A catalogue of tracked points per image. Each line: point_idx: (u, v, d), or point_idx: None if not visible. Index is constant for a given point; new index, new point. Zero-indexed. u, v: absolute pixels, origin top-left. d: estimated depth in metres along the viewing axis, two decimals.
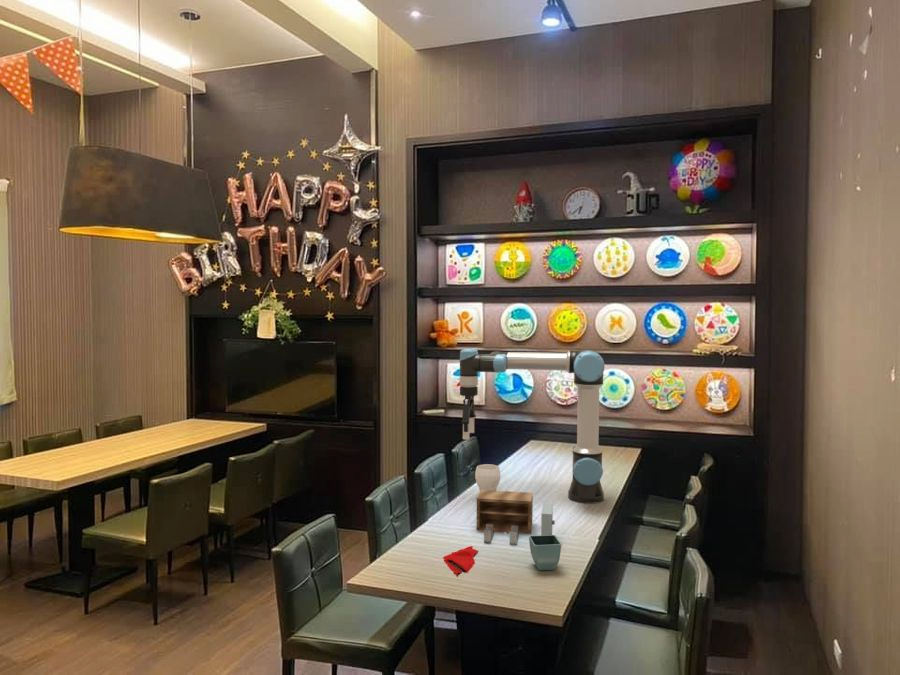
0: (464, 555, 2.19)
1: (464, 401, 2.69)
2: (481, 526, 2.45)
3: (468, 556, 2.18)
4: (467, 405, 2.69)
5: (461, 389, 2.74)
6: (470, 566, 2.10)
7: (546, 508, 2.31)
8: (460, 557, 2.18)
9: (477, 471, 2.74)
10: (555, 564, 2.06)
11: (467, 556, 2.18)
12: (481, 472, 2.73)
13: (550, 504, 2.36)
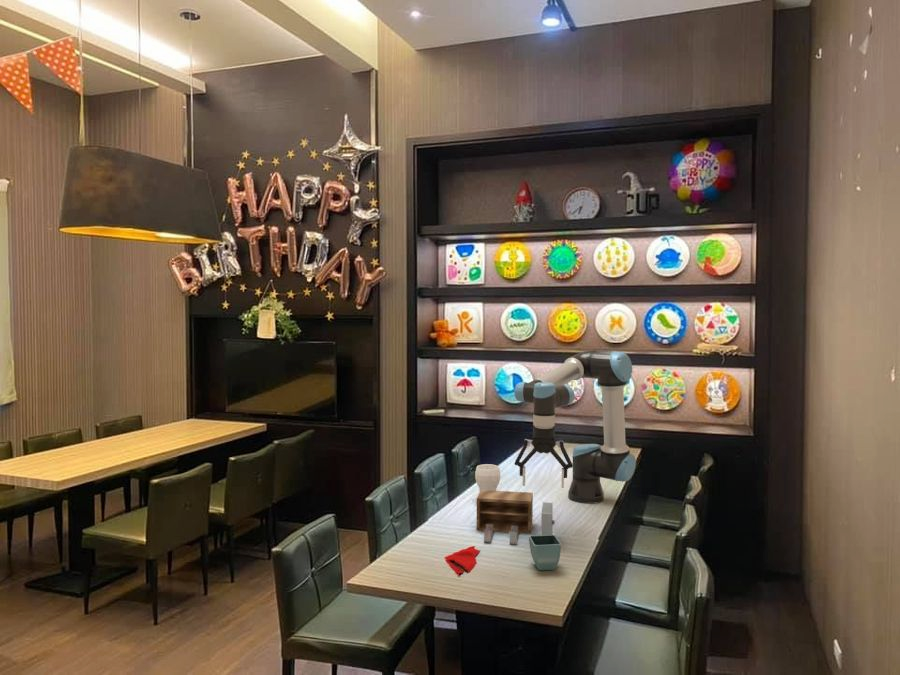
0: (466, 555, 2.19)
1: (524, 441, 2.34)
2: (481, 526, 2.45)
3: (470, 556, 2.18)
4: (523, 446, 2.33)
5: None
6: (472, 566, 2.09)
7: (546, 508, 2.31)
8: (462, 557, 2.17)
9: (477, 471, 2.74)
10: (555, 564, 2.06)
11: (469, 556, 2.18)
12: (481, 472, 2.73)
13: (550, 504, 2.36)
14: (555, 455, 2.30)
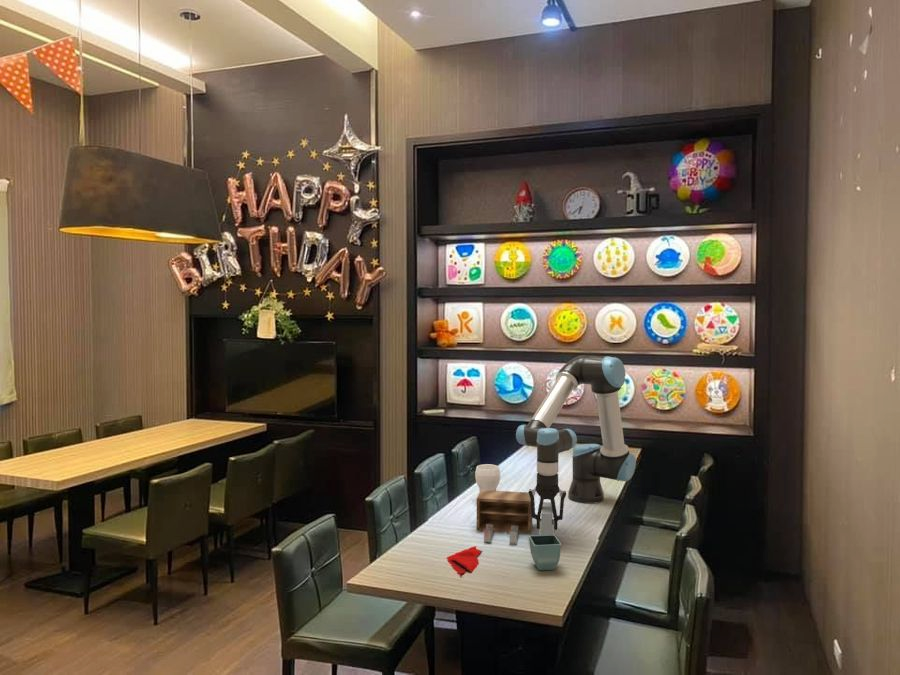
0: (468, 555, 2.19)
1: None
2: (481, 526, 2.45)
3: (472, 556, 2.18)
4: None
5: None
6: (474, 566, 2.09)
7: (546, 508, 2.31)
8: (464, 557, 2.17)
9: (477, 471, 2.74)
10: (555, 564, 2.06)
11: (471, 556, 2.18)
12: (481, 472, 2.73)
13: (550, 504, 2.36)
14: (553, 504, 2.30)
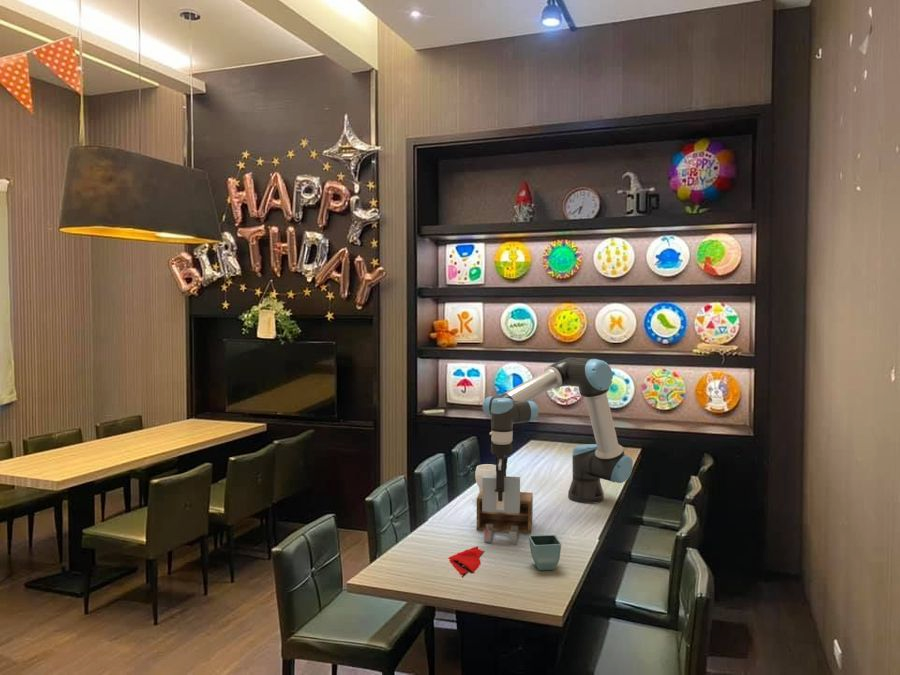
0: (470, 555, 2.18)
1: (497, 467, 2.26)
2: (481, 526, 2.45)
3: (474, 556, 2.18)
4: (501, 471, 2.26)
5: (493, 446, 2.29)
6: (476, 566, 2.09)
7: None
8: (466, 557, 2.17)
9: (477, 471, 2.74)
10: (555, 564, 2.06)
11: (473, 556, 2.18)
12: (481, 472, 2.73)
13: (489, 475, 2.34)
14: None
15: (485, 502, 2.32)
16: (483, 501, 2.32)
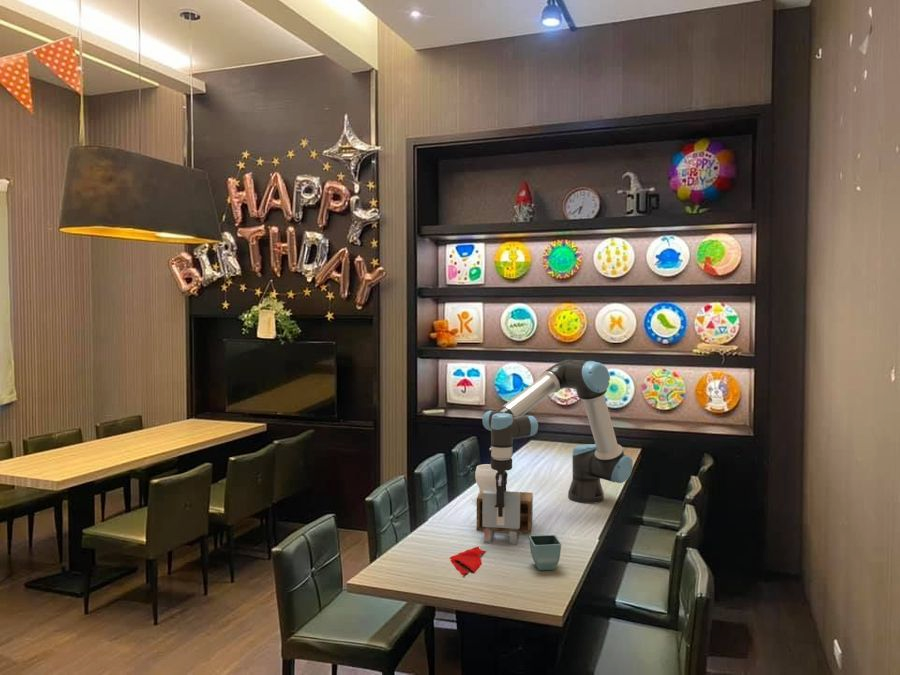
0: (471, 555, 2.18)
1: (497, 483, 2.26)
2: (481, 526, 2.45)
3: (475, 556, 2.18)
4: (501, 487, 2.26)
5: (493, 462, 2.30)
6: (477, 566, 2.09)
7: None
8: (467, 557, 2.17)
9: (477, 471, 2.74)
10: (555, 564, 2.06)
11: (474, 556, 2.18)
12: (481, 472, 2.73)
13: (489, 491, 2.34)
14: (505, 486, 2.34)
15: (485, 517, 2.32)
16: (483, 516, 2.32)
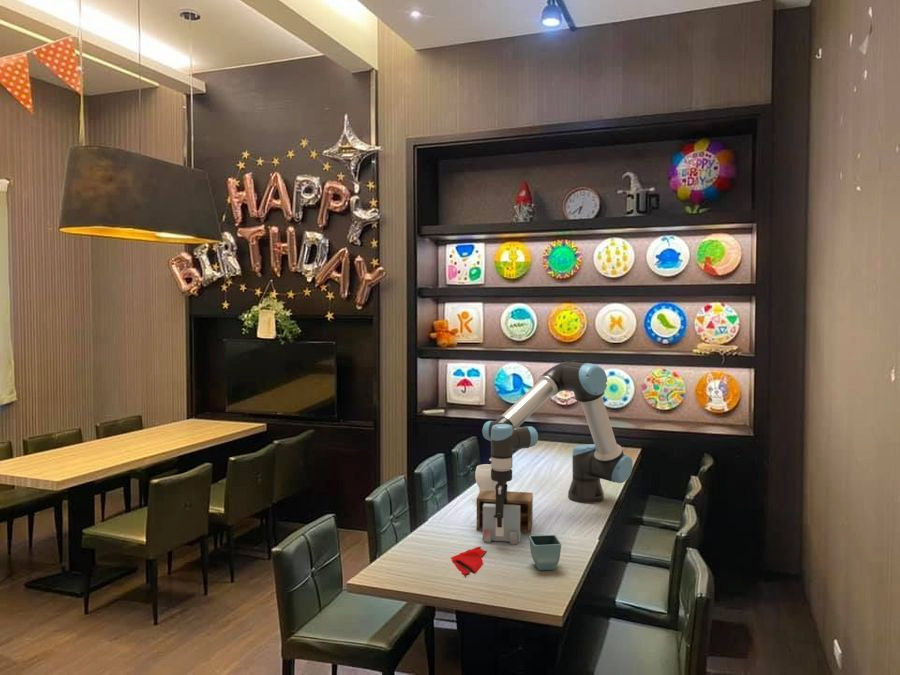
0: (472, 556, 2.18)
1: (497, 490, 2.25)
2: (481, 526, 2.45)
3: (476, 557, 2.18)
4: (501, 495, 2.25)
5: (493, 473, 2.30)
6: (478, 567, 2.09)
7: None
8: (468, 558, 2.17)
9: (477, 471, 2.74)
10: (555, 564, 2.06)
11: (475, 557, 2.18)
12: (481, 472, 2.73)
13: (489, 504, 2.34)
14: None
15: None
16: (483, 530, 2.33)
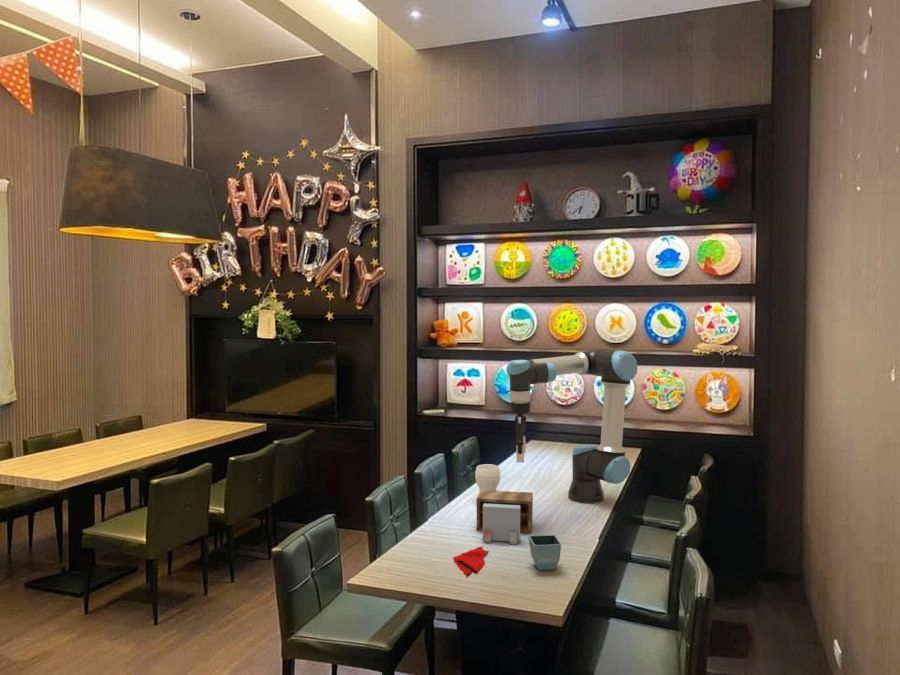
0: (474, 556, 2.18)
1: (517, 419, 2.39)
2: (481, 526, 2.45)
3: (478, 557, 2.18)
4: (521, 424, 2.39)
5: (512, 406, 2.43)
6: (480, 567, 2.09)
7: (503, 506, 2.32)
8: (470, 558, 2.17)
9: (477, 471, 2.74)
10: (555, 564, 2.06)
11: (477, 557, 2.18)
12: (481, 472, 2.73)
13: (489, 504, 2.34)
14: None
15: None
16: (483, 530, 2.33)
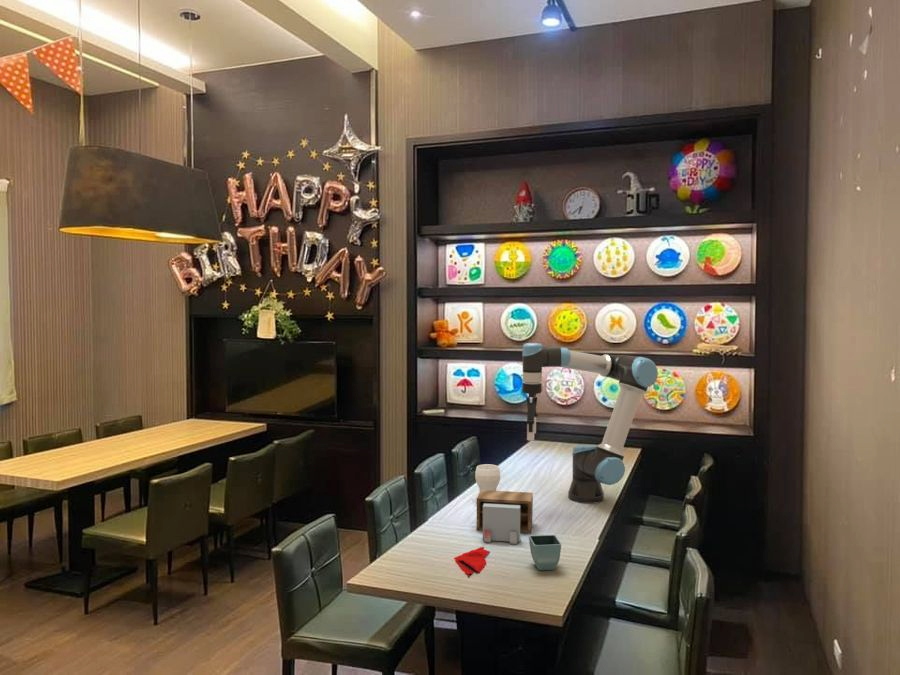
0: (475, 556, 2.18)
1: (529, 399, 2.50)
2: (481, 526, 2.45)
3: (479, 557, 2.18)
4: (532, 403, 2.50)
5: (524, 386, 2.54)
6: (482, 567, 2.09)
7: (503, 506, 2.32)
8: (471, 558, 2.17)
9: (477, 471, 2.74)
10: (555, 564, 2.06)
11: (478, 557, 2.18)
12: (481, 472, 2.73)
13: (489, 504, 2.34)
14: None
15: None
16: (483, 530, 2.33)
